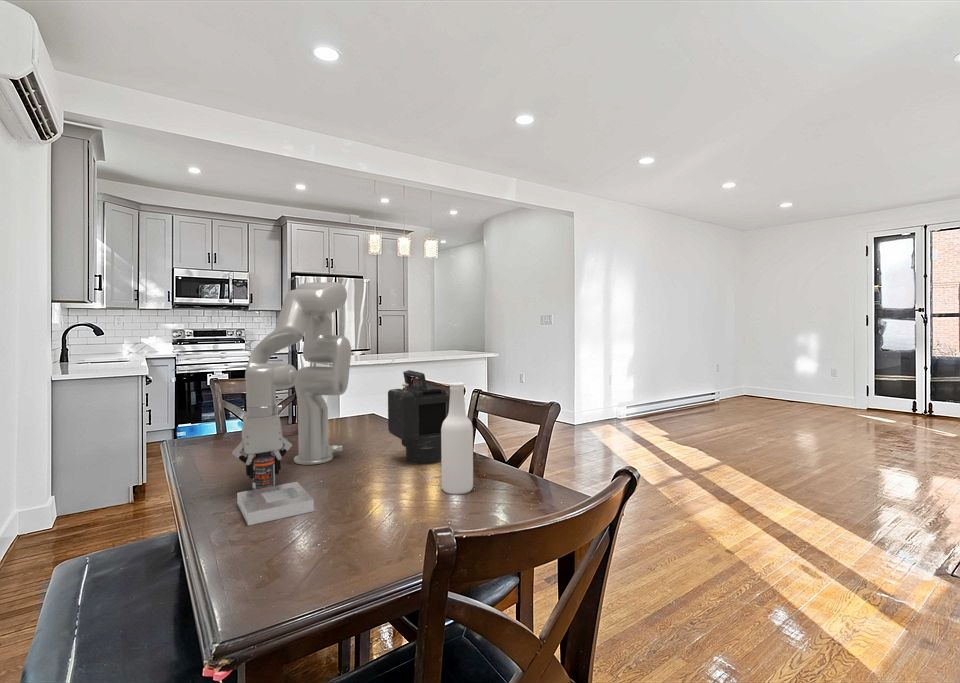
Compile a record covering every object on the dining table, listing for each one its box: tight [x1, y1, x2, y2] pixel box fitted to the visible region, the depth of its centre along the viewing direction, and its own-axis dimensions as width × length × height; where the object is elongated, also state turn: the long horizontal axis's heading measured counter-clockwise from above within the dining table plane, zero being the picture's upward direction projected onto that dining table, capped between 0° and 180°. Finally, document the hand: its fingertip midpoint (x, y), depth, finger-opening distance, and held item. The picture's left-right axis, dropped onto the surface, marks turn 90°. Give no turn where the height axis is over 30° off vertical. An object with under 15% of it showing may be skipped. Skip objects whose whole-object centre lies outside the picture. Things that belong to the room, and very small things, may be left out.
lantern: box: [387, 369, 450, 465], centre depth 166 cm, size 15×18×30 cm
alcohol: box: [440, 381, 474, 496], centre depth 137 cm, size 9×9×30 cm
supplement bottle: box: [251, 452, 276, 490], centre depth 137 cm, size 6×6×11 cm
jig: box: [236, 481, 315, 526], centre depth 125 cm, size 15×16×3 cm
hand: (263, 474), depth 137 cm, fingers closed on supplement bottle, 5 cm apart
